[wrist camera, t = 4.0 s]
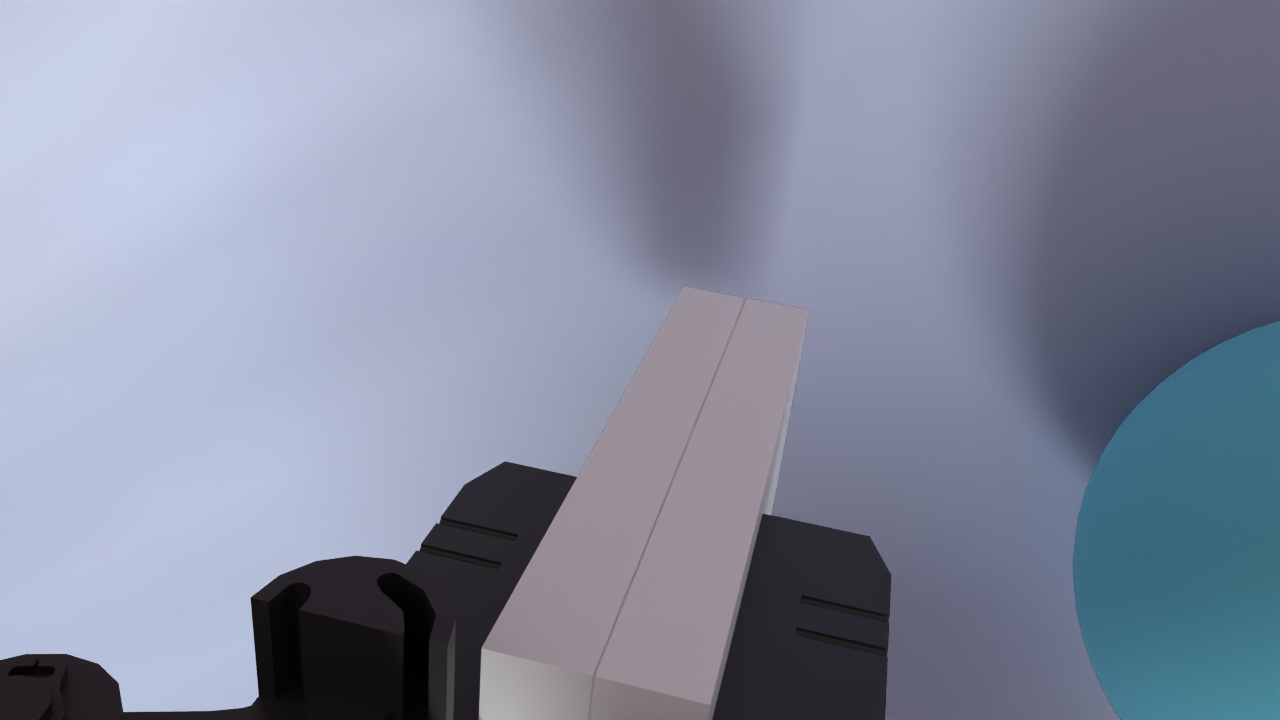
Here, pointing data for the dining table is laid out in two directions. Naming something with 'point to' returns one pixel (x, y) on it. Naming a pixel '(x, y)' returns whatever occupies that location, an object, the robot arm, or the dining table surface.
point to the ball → (1189, 543)
